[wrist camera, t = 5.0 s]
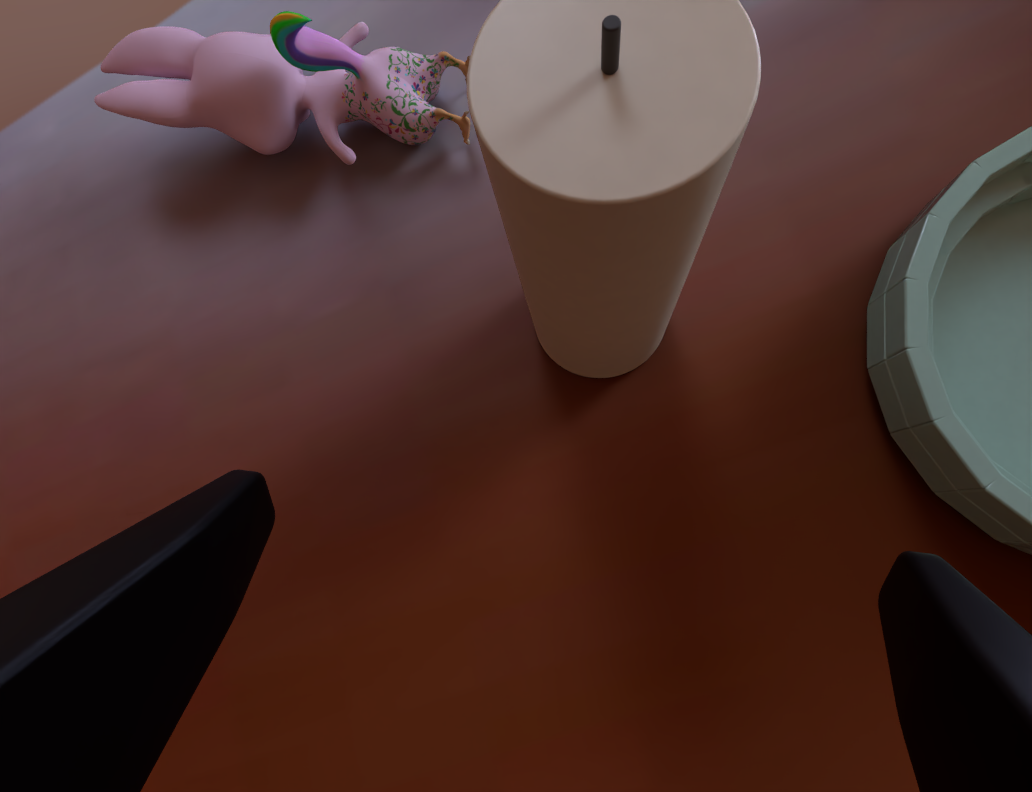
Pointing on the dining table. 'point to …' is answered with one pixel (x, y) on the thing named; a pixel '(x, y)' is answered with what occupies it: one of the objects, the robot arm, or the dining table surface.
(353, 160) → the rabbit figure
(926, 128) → the dining table surface
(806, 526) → the dining table surface
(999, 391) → the candle dish
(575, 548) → the dining table surface
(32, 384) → the dining table surface
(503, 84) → the candle
